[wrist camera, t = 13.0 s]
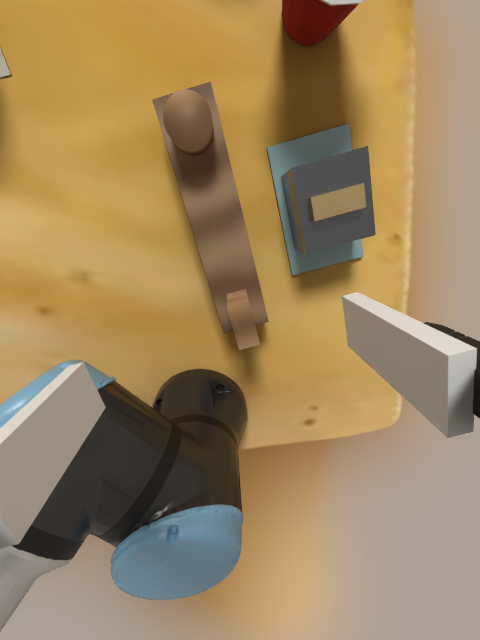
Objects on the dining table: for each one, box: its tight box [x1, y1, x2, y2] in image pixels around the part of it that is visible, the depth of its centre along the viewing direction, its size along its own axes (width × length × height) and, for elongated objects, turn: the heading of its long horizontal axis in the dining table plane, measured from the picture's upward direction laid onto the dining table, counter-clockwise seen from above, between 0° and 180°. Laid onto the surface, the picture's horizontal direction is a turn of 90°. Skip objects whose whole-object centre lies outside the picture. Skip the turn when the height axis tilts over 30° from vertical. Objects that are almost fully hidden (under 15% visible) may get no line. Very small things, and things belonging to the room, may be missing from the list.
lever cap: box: [281, 146, 375, 254], centre depth 32 cm, size 9×8×7 cm
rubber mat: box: [267, 124, 363, 276], centre depth 36 cm, size 16×10×1 cm, turn 15°
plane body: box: [153, 82, 269, 350], centre depth 31 cm, size 26×6×11 cm, turn 15°
